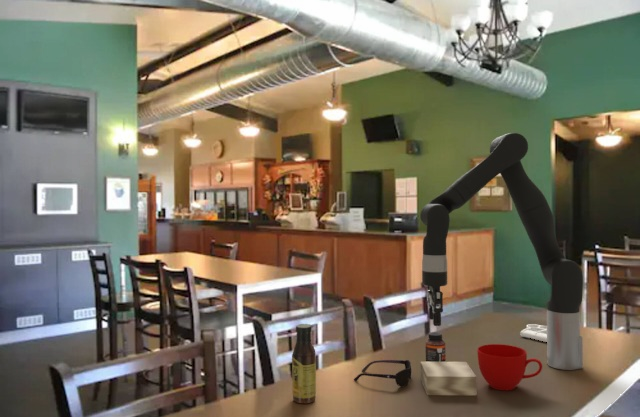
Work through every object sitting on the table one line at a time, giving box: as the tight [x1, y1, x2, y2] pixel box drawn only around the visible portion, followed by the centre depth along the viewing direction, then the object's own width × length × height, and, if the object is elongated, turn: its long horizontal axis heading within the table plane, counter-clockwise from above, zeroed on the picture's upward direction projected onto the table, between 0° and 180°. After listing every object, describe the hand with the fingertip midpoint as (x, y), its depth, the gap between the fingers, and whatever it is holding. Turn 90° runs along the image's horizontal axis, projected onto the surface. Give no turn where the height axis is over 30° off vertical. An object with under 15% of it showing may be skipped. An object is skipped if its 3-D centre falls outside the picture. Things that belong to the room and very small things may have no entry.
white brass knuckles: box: [519, 323, 547, 343], centre depth 195 cm, size 3×18×15 cm
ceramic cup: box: [476, 343, 543, 391], centre depth 144 cm, size 13×17×10 cm
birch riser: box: [420, 361, 478, 396], centre depth 145 cm, size 13×13×5 cm
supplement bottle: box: [425, 331, 447, 362], centre depth 159 cm, size 6×6×11 cm
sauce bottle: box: [291, 323, 317, 404], centre depth 137 cm, size 7×6×20 cm
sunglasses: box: [353, 359, 412, 388], centre depth 152 cm, size 14×16×5 cm
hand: (434, 322), depth 159 cm, fingers open, 8 cm apart
